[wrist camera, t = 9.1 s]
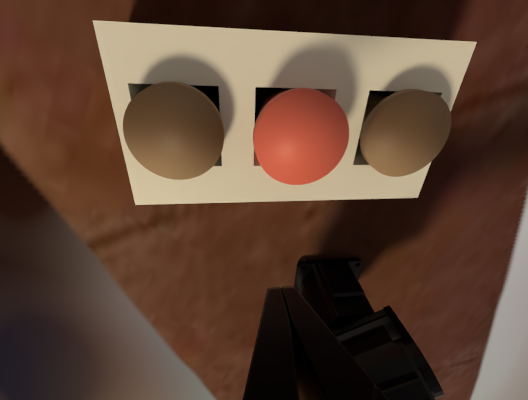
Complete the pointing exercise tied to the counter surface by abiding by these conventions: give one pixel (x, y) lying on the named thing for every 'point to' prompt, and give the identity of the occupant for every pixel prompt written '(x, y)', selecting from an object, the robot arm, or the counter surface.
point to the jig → (274, 76)
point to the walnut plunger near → (174, 130)
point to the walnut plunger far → (404, 131)
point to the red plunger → (300, 135)
